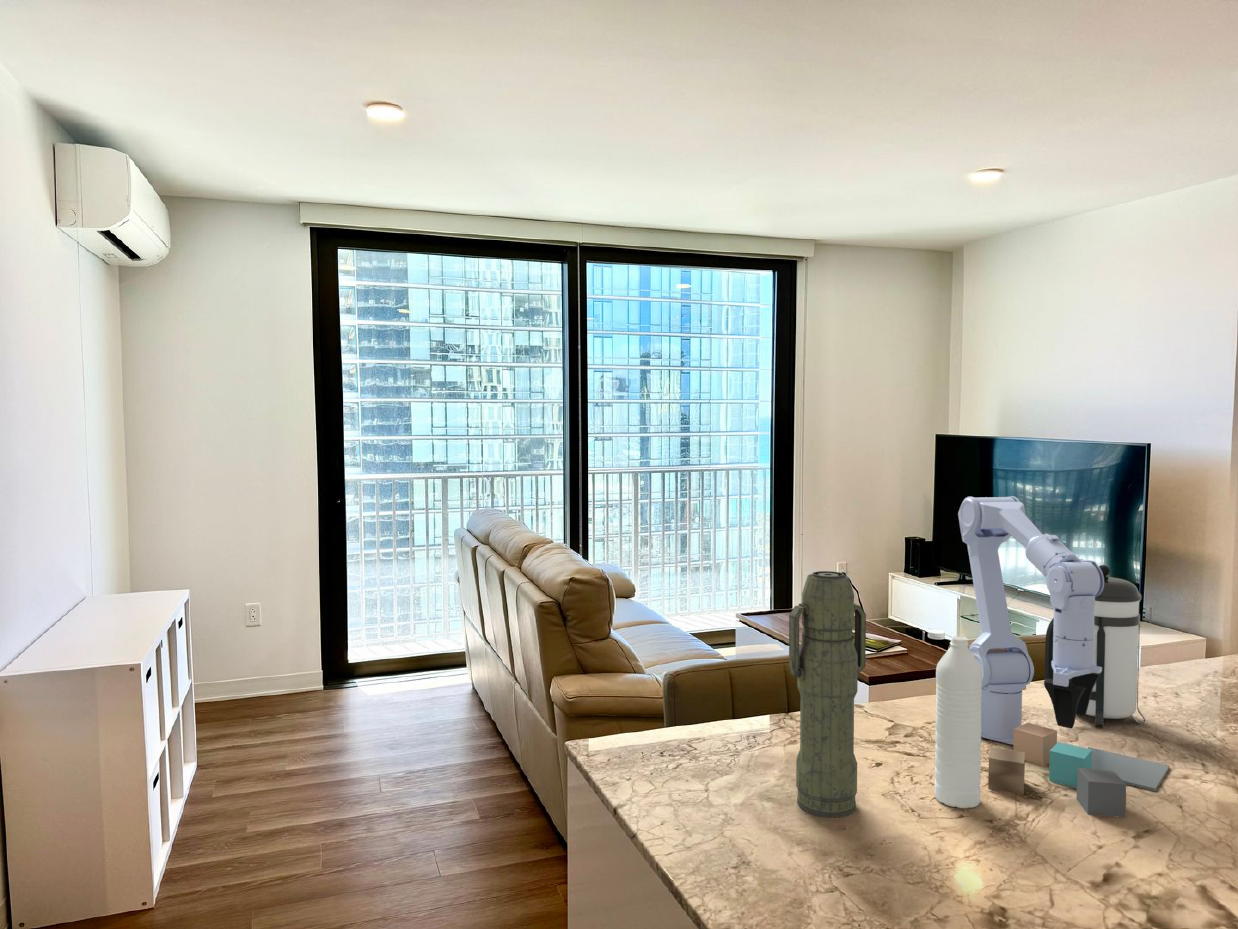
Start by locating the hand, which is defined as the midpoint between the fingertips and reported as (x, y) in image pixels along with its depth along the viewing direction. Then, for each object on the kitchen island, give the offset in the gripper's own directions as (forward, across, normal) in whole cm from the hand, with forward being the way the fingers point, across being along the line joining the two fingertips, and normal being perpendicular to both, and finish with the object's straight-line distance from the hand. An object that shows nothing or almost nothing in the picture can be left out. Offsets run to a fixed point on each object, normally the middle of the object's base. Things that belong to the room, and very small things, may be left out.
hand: (1071, 720), depth 134 cm
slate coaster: (+10, +10, -5) cm, 15 cm away
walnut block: (+10, -9, +7) cm, 15 cm away
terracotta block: (+10, +6, +7) cm, 14 cm away
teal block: (+10, 0, 0) cm, 10 cm away
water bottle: (+10, -19, +12) cm, 25 cm away
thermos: (+10, -34, +25) cm, 43 cm away
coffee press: (+10, +35, +4) cm, 37 cm away
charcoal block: (+10, -8, -6) cm, 14 cm away
